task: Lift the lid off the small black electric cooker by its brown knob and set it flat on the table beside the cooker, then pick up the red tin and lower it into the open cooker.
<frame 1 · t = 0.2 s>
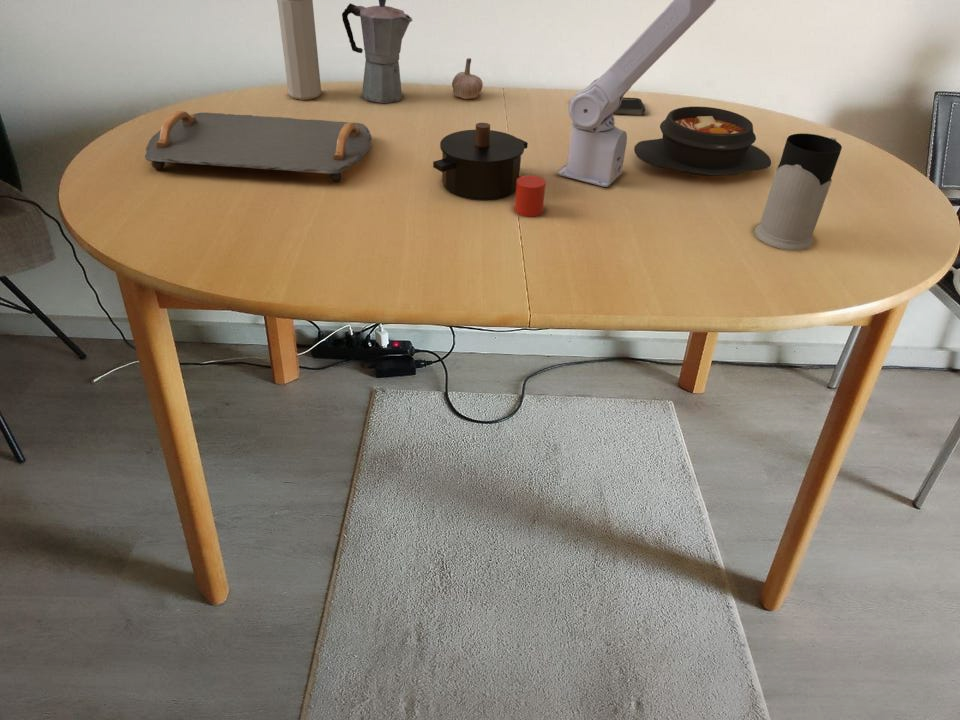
moka pot: (380, 98, 158), on the table
garlic bulb: (467, 96, 161), on the table
glass holder: (790, 231, 115), on the table
cooker lid: (482, 147, 121), point 6 cm above the table, touching cooker
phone: (607, 108, 158), on the table
cooker: (480, 183, 125), on the table
tin: (528, 210, 117), on the table
water bottle: (306, 95, 158), on the table
casserole: (699, 165, 135), on the table
serving tray: (264, 155, 131), on the table
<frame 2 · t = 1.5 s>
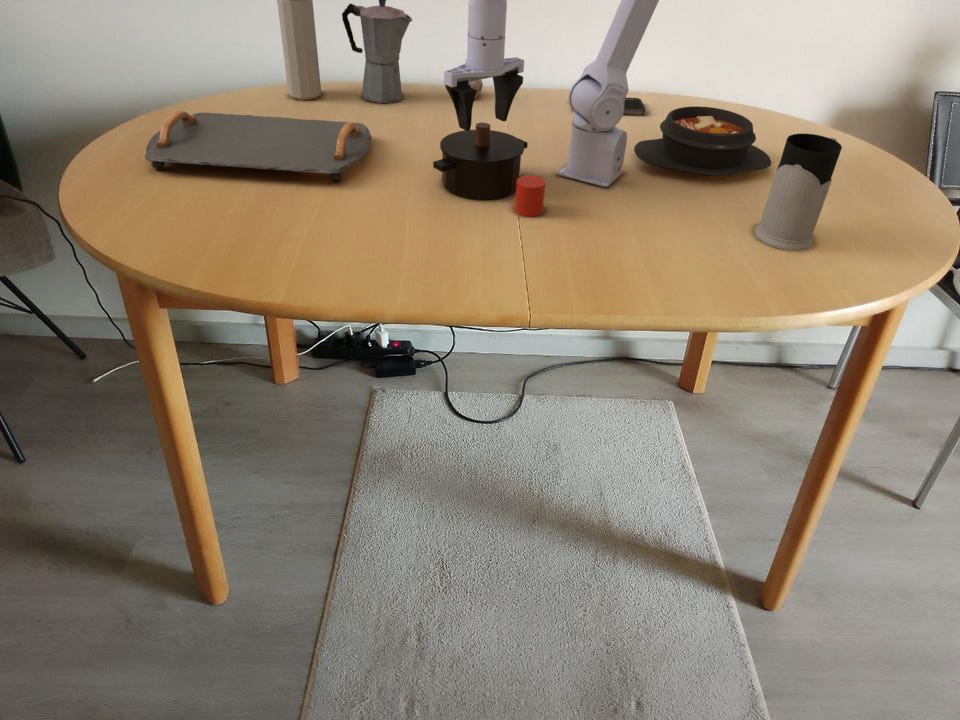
hand: (483, 124, 118), 10 cm above the table, tool pointing down, fingers open, 7 cm apart
nothing on the table moved.
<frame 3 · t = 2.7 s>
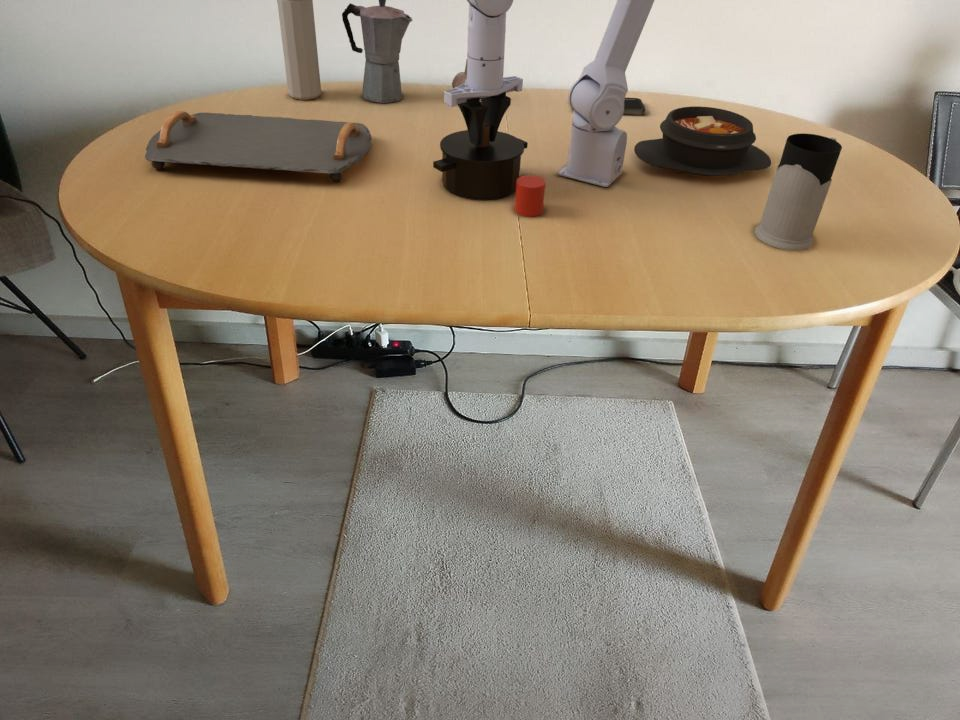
hand: (482, 141, 120), 7 cm above the table, tool pointing down, fingers closed on cooker lid, 2 cm apart
cooker lid: (482, 147, 121), point 6 cm above the table, touching cooker, gripper
everything else where it was.
when the fingers open (2 cm above the table, at t = 7.6 s): cooker lid stays where it is, point 1 cm above the table.
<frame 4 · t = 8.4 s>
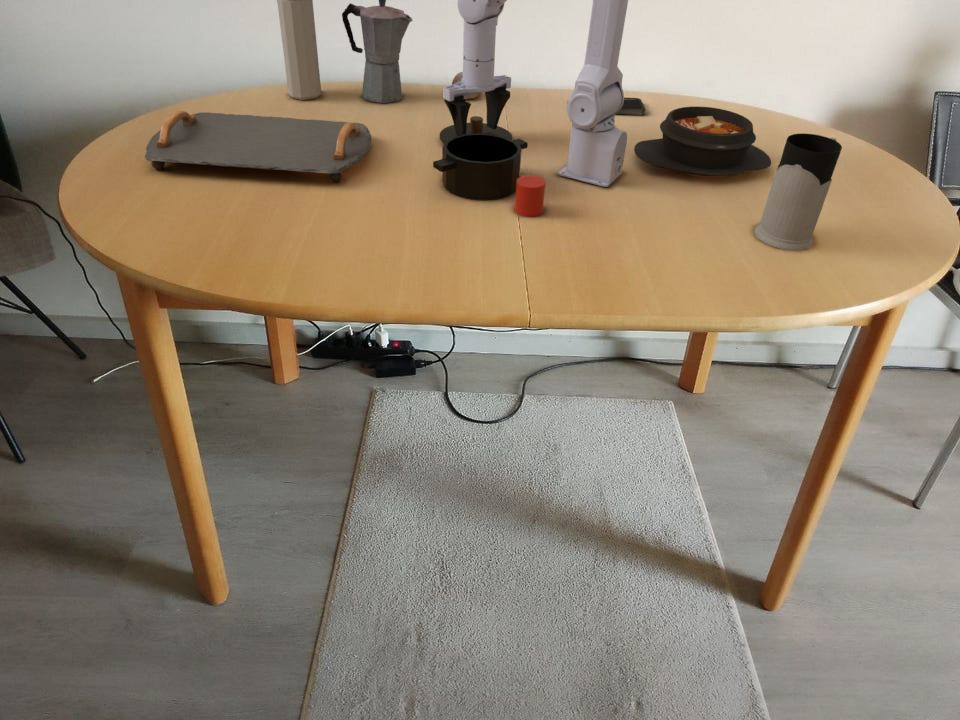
hand: (476, 131, 139), 2 cm above the table, tool pointing down, fingers open, 7 cm apart
cooker lid: (475, 137, 140), point 1 cm above the table
everything else where it was.
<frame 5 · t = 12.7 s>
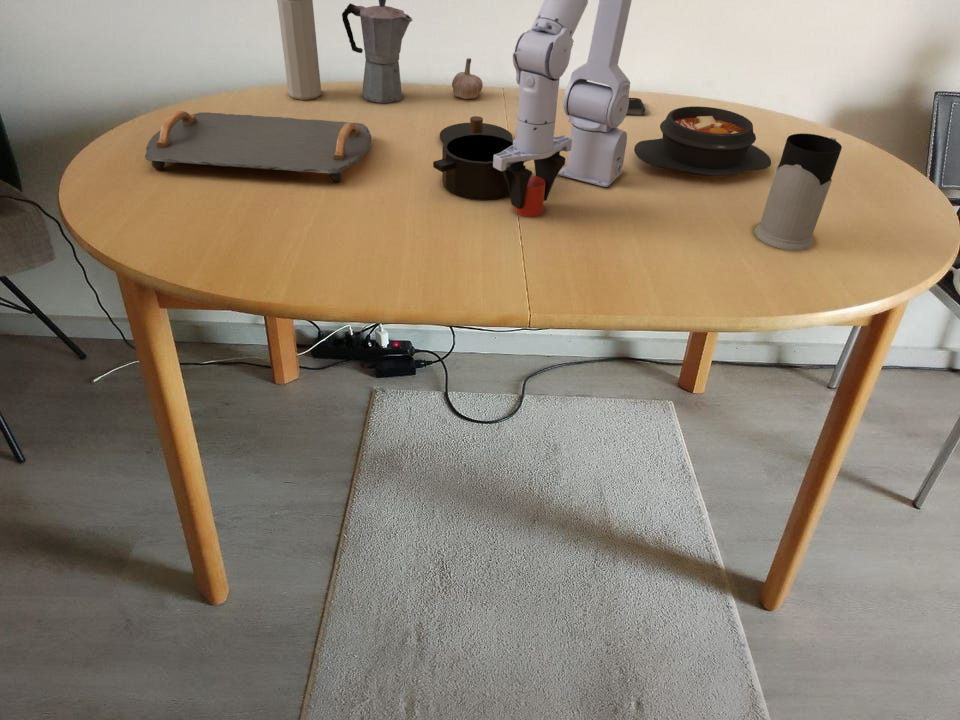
hand: (529, 202, 116), 1 cm above the table, tool pointing down, fingers closed on tin, 4 cm apart
tin: (528, 210, 117), on the table, touching gripper
everything else where it was.
when the fingers open (2 cm above the table, at t = 18.0 s): tin stays where it is, resting on cooker.
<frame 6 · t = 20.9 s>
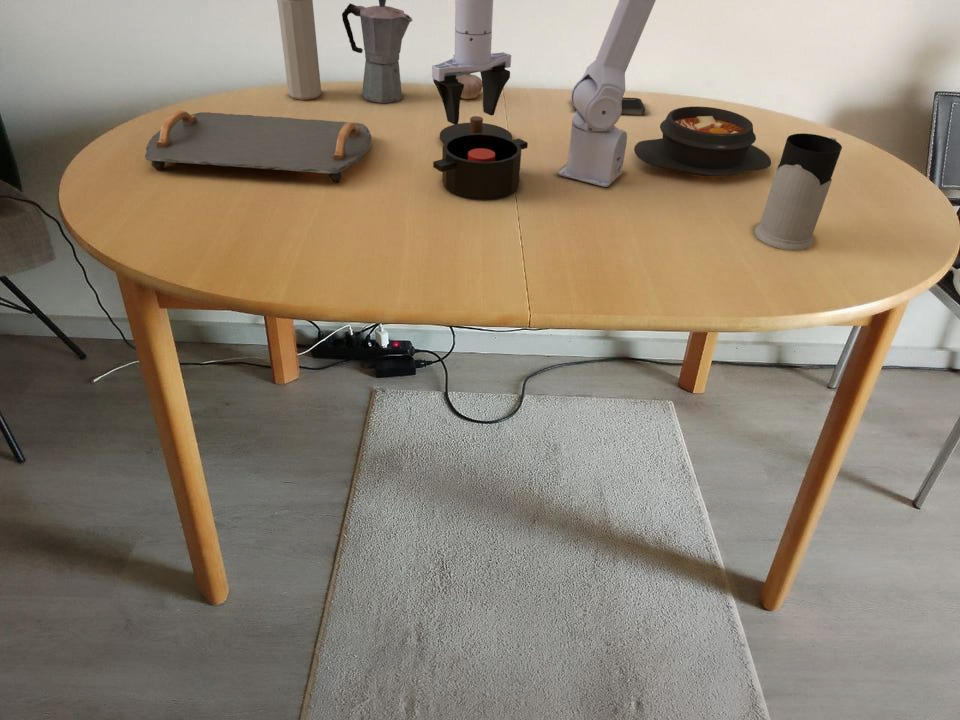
hand: (471, 118, 120), 10 cm above the table, tool pointing down, fingers open, 7 cm apart
tin: (480, 181, 124), resting on cooker
everything else where it was.
at the end: cooker lid inside the target area (0.1 cm from its centre), point 0.6 cm above the table; cooker lid tilted 0°; tin inside the target area in the cooker (0.0 cm from its centre), point 0.4 cm above the cooker's base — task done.
